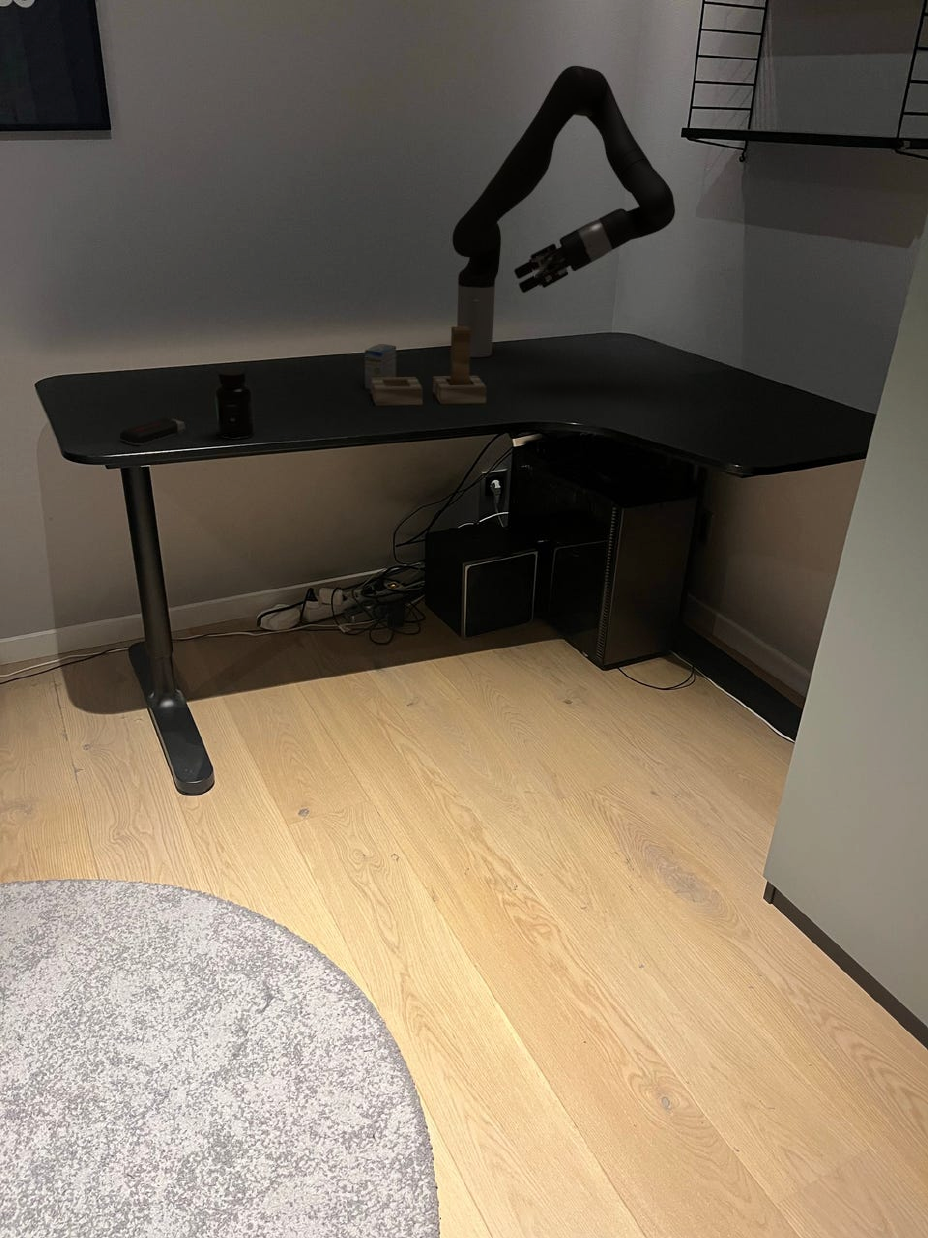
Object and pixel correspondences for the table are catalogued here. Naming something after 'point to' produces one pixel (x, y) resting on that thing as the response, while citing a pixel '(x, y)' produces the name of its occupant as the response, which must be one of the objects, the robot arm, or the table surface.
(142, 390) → the table surface
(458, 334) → the tall brown wooden block
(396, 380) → the end cap
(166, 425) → the usb drive
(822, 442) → the table surface
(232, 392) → the supplement bottle
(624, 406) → the table surface
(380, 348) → the medicine box
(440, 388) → the end cap
